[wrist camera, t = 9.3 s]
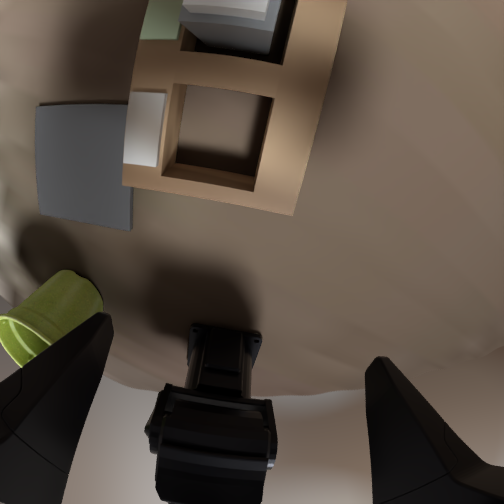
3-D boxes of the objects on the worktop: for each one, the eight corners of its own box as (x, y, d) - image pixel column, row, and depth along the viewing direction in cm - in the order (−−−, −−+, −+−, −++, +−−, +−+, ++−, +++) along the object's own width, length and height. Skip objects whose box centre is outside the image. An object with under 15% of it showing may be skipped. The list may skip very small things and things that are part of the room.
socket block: (287, 197, 18) (293, 218, 16) (140, 171, 18) (119, 187, 15) (337, -1, 11) (352, -18, 8) (176, -25, 11) (160, -44, 8)
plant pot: (75, 332, 27) (44, 392, 20) (28, 265, 22) (-20, 321, 15) (136, 323, 25) (106, 398, 18) (83, 241, 21) (25, 310, 13)
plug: (268, 55, 14) (274, 24, 7) (208, 46, 14) (168, 13, 7) (280, 6, 12) (294, -51, 5) (220, -3, 12) (193, -61, 5)
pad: (132, 228, 20) (129, 231, 20) (43, 211, 19) (40, 214, 19) (140, 105, 15) (137, 105, 15) (40, 105, 15) (36, 106, 14)
